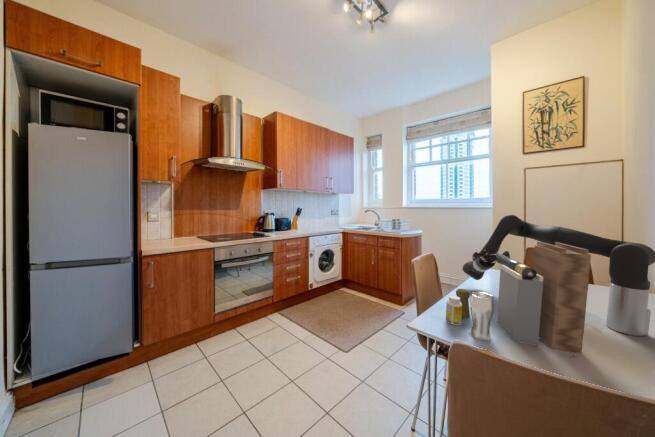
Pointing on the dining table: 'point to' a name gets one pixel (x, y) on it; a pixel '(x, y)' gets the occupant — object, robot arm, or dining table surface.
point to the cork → (464, 301)
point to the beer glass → (481, 314)
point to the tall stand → (562, 294)
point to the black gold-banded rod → (517, 266)
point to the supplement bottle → (454, 310)
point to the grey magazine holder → (519, 305)
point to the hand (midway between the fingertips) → (496, 252)
